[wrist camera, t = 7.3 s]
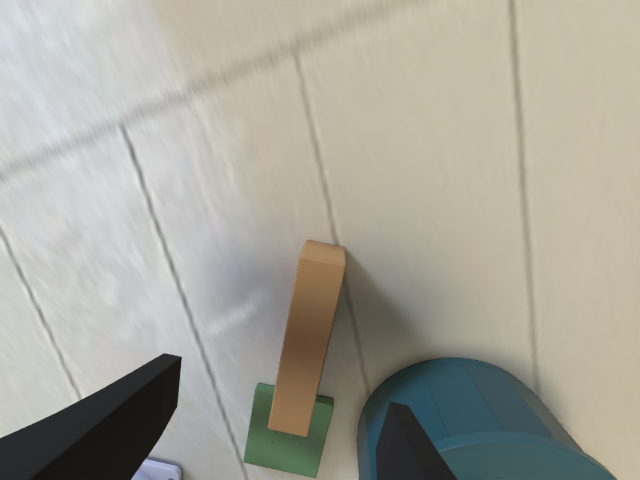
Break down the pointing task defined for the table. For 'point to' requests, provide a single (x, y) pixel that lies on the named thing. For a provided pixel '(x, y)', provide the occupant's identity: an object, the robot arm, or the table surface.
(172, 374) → the robot arm
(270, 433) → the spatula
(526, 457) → the pot lid
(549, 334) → the table surface
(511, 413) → the pot
